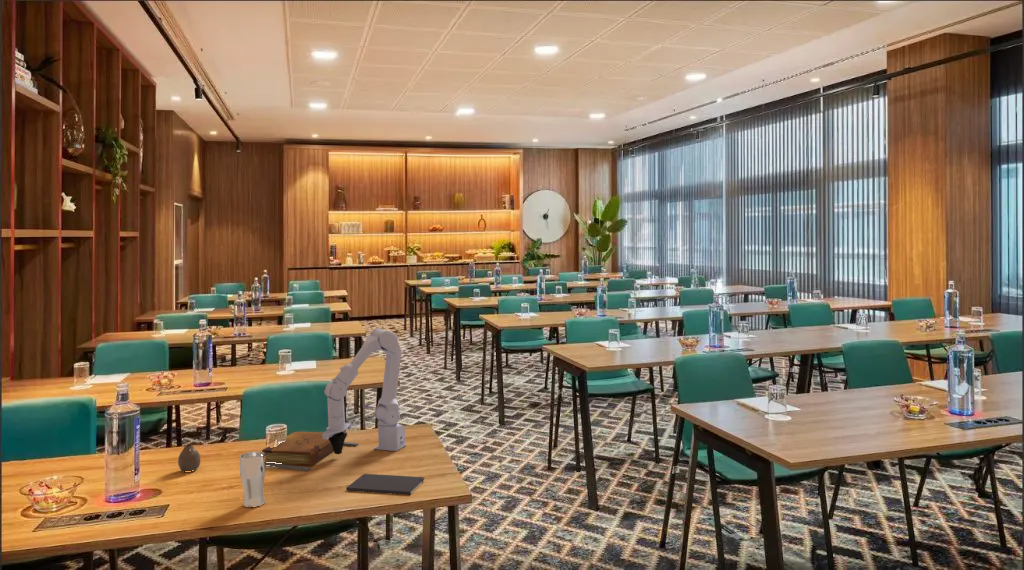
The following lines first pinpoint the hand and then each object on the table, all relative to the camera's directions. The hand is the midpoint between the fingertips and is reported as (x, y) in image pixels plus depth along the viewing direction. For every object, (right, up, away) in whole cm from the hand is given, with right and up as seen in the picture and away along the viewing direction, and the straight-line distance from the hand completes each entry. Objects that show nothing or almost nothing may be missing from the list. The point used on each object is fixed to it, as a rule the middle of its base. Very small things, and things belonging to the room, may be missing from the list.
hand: (338, 453), depth 246 cm
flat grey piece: (-14, -2, +5) cm, 15 cm away
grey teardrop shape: (-48, -4, -10) cm, 49 cm away
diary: (-14, -2, +4) cm, 14 cm away
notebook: (+22, -4, -29) cm, 36 cm away
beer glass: (-14, -5, -41) cm, 44 cm away
